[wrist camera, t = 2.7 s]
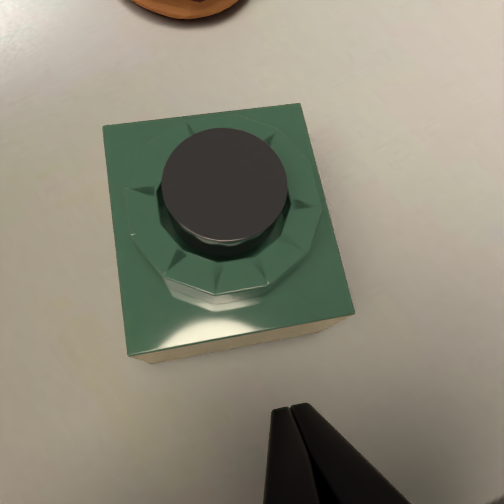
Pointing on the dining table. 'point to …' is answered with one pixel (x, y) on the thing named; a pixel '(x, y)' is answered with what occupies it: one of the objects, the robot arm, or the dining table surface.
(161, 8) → the donut
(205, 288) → the button base
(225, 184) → the dark round knob
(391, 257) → the dining table surface
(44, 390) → the dining table surface
